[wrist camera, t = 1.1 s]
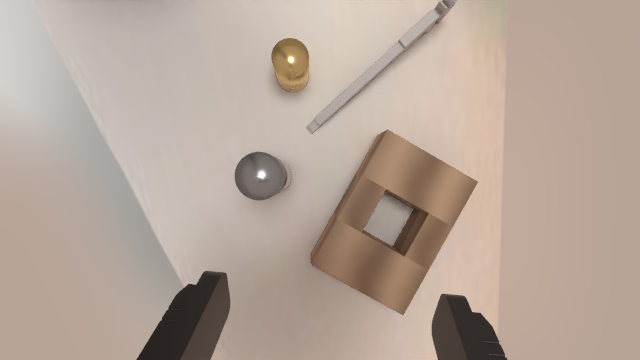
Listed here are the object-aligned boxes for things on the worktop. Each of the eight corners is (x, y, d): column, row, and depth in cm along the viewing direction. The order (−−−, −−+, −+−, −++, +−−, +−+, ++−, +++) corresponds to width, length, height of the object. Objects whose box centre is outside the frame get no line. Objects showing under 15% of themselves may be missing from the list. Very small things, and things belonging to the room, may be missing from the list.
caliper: (434, 14, 37) (460, -19, 31) (440, 21, 37) (467, -11, 31) (306, 127, 37) (305, 117, 30) (312, 134, 37) (312, 126, 30)
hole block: (311, 253, 37) (311, 264, 32) (377, 135, 37) (387, 129, 32) (391, 298, 37) (403, 315, 33) (457, 181, 37) (478, 181, 33)
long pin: (255, 181, 36) (226, 185, 23) (270, 154, 36) (249, 143, 23) (282, 196, 36) (268, 208, 23) (297, 169, 36) (291, 166, 23)
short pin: (271, 82, 36) (264, 63, 30) (287, 55, 36) (283, 31, 30) (299, 97, 36) (297, 82, 30) (314, 70, 36) (315, 50, 30)
